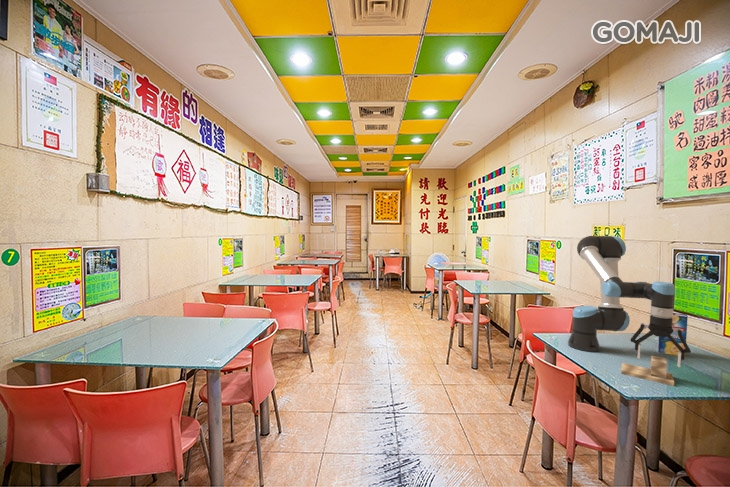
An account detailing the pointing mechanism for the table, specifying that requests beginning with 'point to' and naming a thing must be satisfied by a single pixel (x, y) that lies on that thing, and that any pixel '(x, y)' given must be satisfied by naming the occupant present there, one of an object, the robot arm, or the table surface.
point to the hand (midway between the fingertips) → (658, 361)
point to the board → (645, 374)
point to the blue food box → (674, 335)
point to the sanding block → (658, 367)
